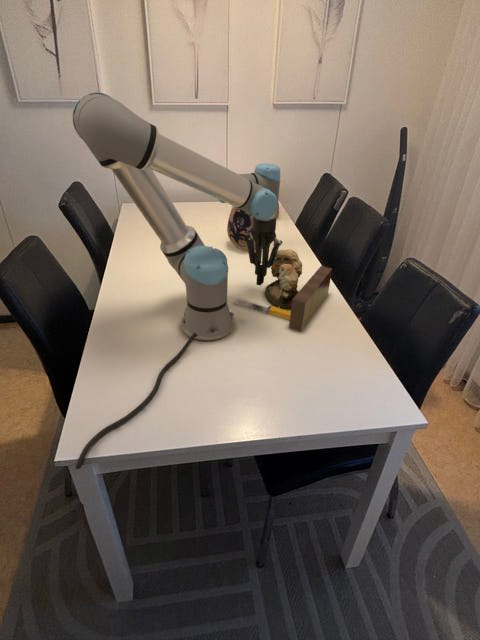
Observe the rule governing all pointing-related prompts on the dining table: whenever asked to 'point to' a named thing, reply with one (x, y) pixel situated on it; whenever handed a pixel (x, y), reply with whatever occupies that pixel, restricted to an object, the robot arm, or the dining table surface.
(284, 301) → the beige stone figure
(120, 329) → the dining table surface
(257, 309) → the yellow handled chisel
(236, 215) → the ceramic pitcher
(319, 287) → the walnut rail
